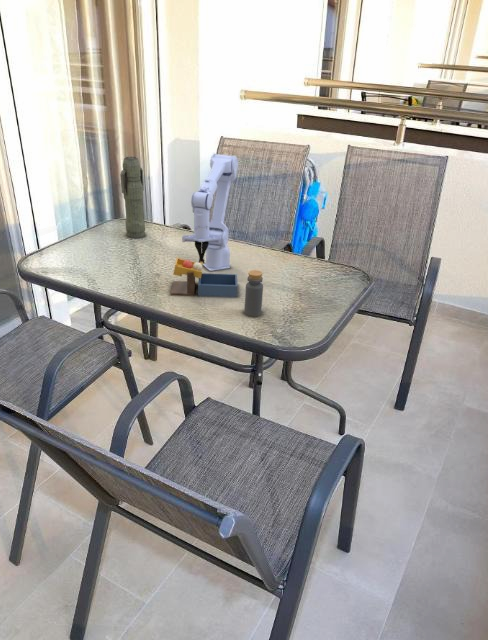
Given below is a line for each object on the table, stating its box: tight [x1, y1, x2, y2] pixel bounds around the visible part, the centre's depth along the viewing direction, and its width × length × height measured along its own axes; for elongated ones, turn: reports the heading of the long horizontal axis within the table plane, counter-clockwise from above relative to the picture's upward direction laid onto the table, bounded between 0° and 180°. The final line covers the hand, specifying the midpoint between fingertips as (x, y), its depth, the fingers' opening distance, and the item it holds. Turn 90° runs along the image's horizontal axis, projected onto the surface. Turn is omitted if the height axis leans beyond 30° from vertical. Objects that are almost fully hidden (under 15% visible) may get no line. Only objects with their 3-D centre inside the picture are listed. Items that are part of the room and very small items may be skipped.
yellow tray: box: [173, 256, 205, 279], centre depth 189 cm, size 10×15×4 cm
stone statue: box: [119, 156, 146, 239], centre depth 232 cm, size 9×12×35 cm
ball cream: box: [193, 261, 203, 271], centre depth 186 cm, size 4×4×4 cm
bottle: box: [244, 269, 264, 317], centre depth 172 cm, size 6×6×15 cm
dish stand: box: [170, 272, 196, 297], centre depth 188 cm, size 8×11×9 cm
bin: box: [197, 272, 239, 298], centre depth 190 cm, size 14×11×4 cm
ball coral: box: [183, 259, 193, 269], centre depth 186 cm, size 4×4×4 cm
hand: (201, 260), depth 195 cm, fingers closed, pressing on yellow tray
